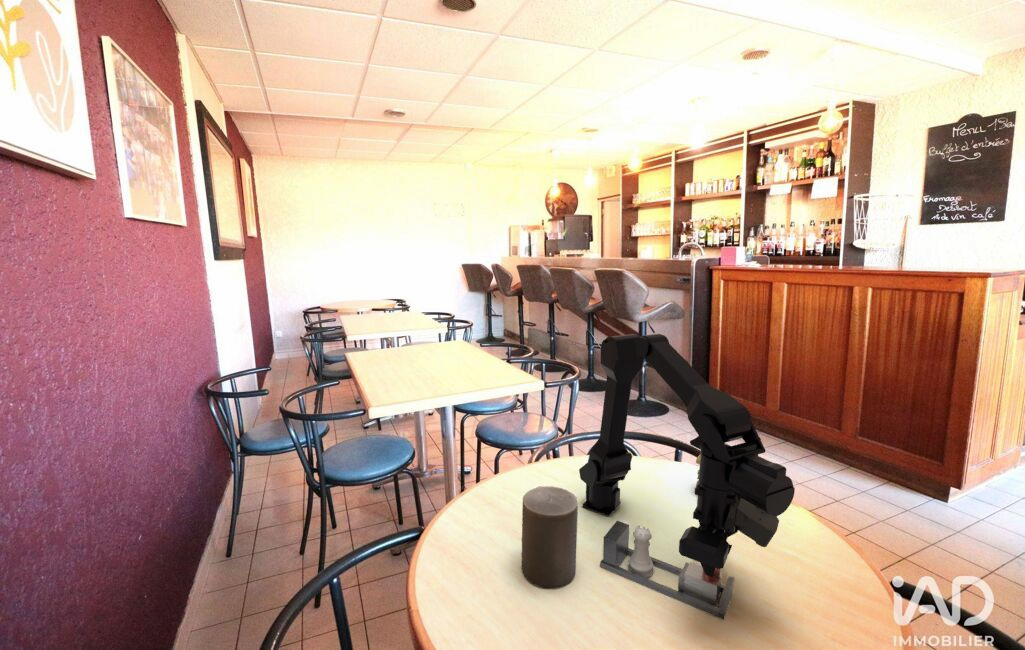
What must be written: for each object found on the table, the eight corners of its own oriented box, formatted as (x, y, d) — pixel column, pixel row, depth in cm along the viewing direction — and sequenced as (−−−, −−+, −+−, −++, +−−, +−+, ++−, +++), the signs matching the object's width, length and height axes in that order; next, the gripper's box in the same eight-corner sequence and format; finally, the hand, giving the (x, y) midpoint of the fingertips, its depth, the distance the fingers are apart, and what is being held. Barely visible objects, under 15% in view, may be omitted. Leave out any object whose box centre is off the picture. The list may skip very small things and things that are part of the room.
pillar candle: (539, 597, 78) (540, 514, 75) (512, 561, 86) (512, 486, 83) (587, 578, 82) (590, 499, 79) (556, 545, 91) (558, 474, 88)
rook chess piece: (624, 562, 86) (625, 523, 84) (648, 561, 86) (650, 521, 84) (632, 580, 81) (634, 538, 80) (657, 578, 82) (659, 537, 80)
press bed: (600, 567, 85) (600, 537, 83) (614, 547, 90) (615, 519, 89) (723, 619, 73) (726, 585, 72) (732, 593, 78) (735, 561, 77)
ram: (677, 593, 78) (681, 541, 76) (684, 579, 81) (688, 529, 79) (714, 609, 75) (719, 555, 73) (720, 593, 78) (724, 541, 76)
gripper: (767, 529, 61) (757, 633, 64) (784, 471, 76) (775, 557, 79) (680, 502, 67) (674, 597, 70) (711, 453, 82) (705, 534, 85)
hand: (711, 570), depth 76 cm, fingers closed on ram, 3 cm apart
